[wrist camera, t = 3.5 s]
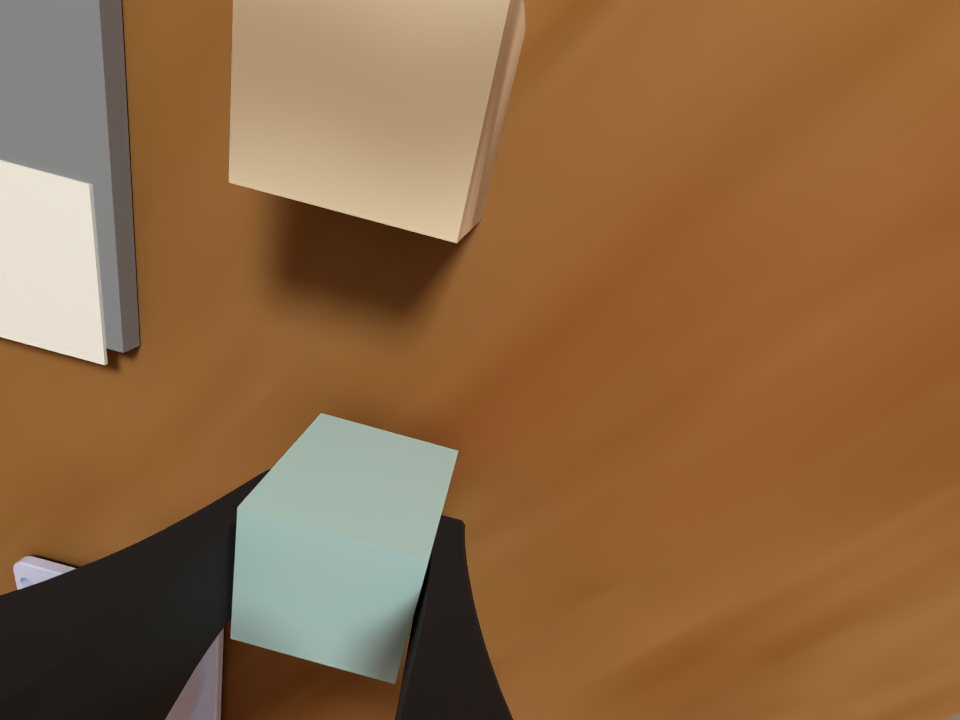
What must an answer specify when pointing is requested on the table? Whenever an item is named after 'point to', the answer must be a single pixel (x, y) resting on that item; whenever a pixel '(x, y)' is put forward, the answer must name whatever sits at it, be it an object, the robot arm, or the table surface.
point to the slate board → (66, 179)
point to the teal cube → (339, 546)
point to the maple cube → (374, 105)
